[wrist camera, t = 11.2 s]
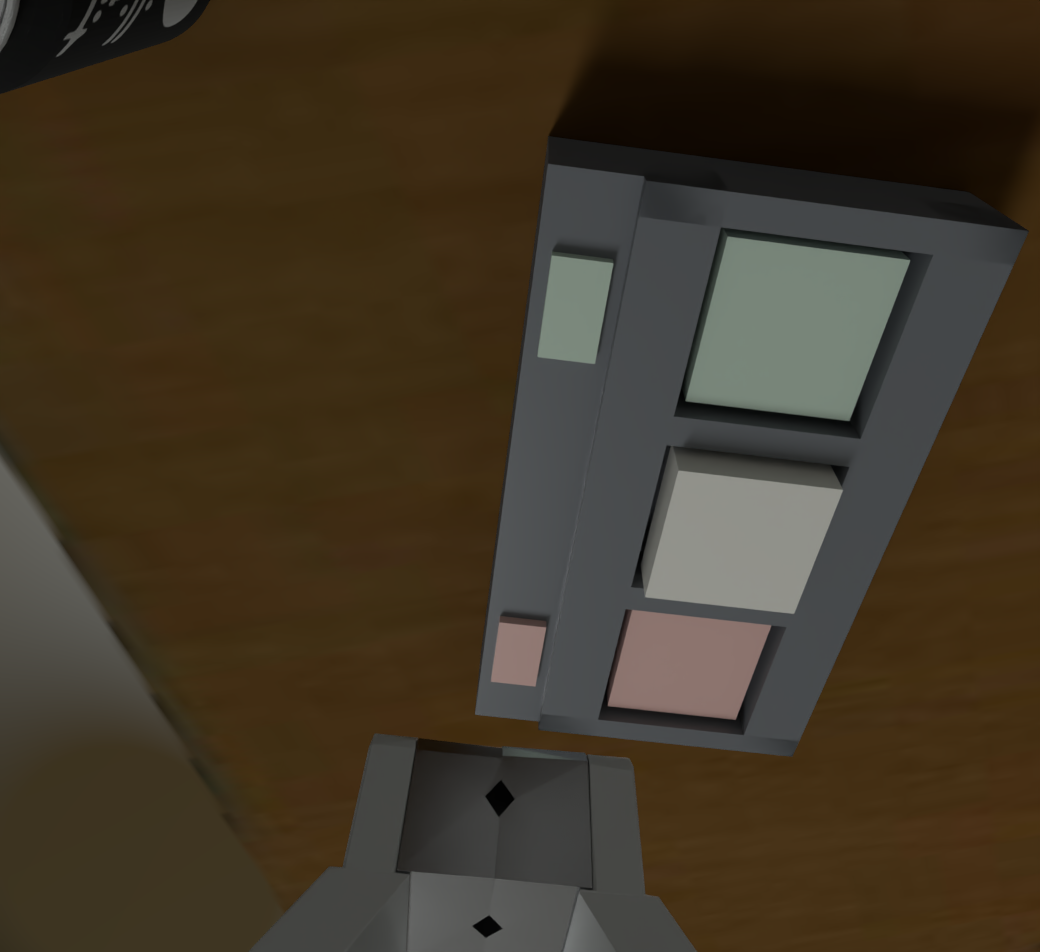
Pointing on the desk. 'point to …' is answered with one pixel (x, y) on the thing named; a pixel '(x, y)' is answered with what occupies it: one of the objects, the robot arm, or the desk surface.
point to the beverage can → (82, 33)
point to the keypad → (703, 421)
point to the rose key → (684, 664)
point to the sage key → (790, 323)
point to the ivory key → (737, 529)
